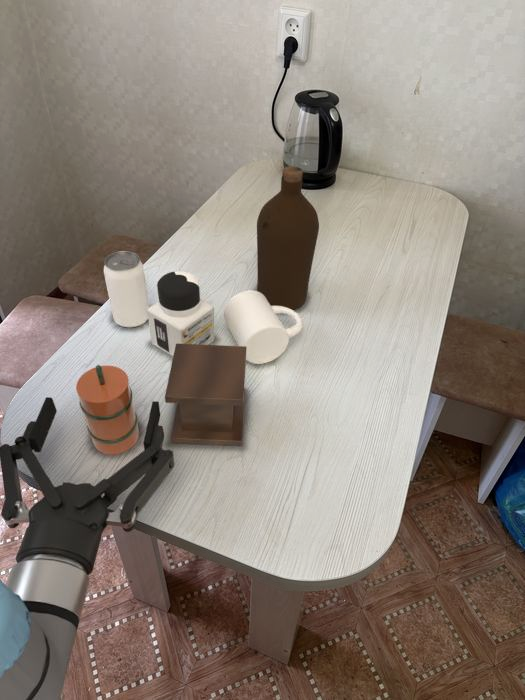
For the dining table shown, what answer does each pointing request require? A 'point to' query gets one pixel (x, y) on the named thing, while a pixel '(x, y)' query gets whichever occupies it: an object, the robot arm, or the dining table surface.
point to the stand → (207, 394)
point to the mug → (259, 326)
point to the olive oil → (286, 243)
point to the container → (180, 313)
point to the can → (126, 288)
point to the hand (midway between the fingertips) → (104, 405)
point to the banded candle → (108, 409)
